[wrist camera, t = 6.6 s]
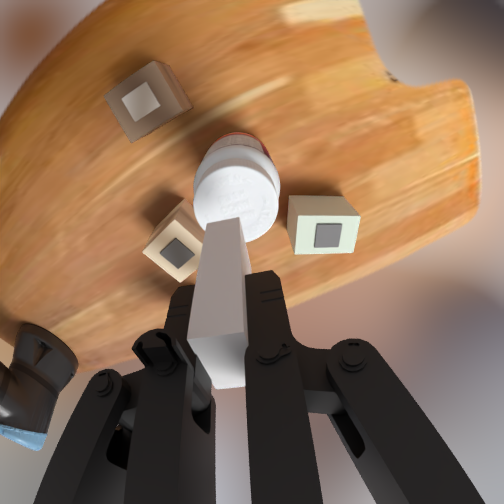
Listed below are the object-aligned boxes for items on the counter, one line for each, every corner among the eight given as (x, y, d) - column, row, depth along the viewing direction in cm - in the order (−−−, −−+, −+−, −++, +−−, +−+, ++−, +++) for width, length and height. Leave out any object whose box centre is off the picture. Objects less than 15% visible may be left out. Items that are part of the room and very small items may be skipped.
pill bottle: (266, 192, 28) (281, 254, 18) (205, 189, 27) (186, 249, 18) (272, 133, 24) (295, 161, 15) (207, 129, 24) (184, 155, 14)
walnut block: (149, 133, 24) (130, 143, 19) (126, 93, 21) (102, 96, 17) (193, 107, 23) (182, 110, 18) (169, 65, 20) (152, 59, 16)
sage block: (286, 229, 30) (294, 255, 26) (288, 195, 28) (298, 216, 23) (338, 228, 30) (353, 253, 26) (343, 196, 28) (361, 217, 24)
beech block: (187, 255, 31) (180, 283, 27) (155, 227, 29) (141, 253, 25) (218, 229, 30) (214, 256, 25) (184, 197, 28) (174, 220, 23)
